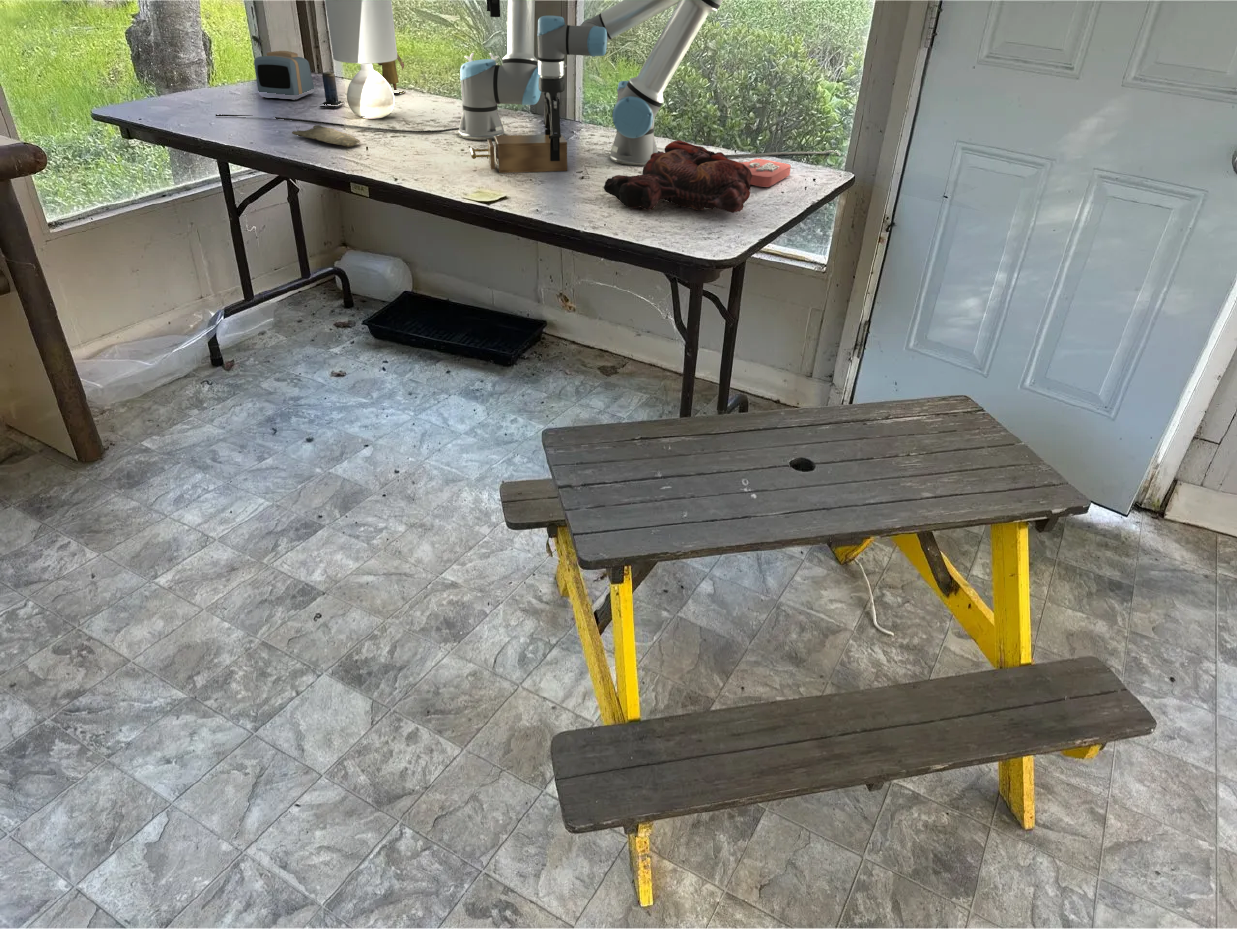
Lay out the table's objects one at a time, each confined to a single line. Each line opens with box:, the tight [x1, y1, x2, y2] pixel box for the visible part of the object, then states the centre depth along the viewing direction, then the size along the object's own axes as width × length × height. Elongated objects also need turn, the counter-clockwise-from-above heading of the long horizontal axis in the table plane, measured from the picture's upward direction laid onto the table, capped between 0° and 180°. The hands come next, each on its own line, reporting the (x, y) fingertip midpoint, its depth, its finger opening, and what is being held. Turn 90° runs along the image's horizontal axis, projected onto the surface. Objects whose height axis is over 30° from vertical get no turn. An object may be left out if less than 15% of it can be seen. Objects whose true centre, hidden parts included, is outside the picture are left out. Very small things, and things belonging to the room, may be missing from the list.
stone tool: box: [291, 124, 361, 147], centre depth 276 cm, size 11×3×25 cm
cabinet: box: [494, 133, 568, 174], centre depth 255 cm, size 20×10×8 cm, turn 102°
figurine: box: [377, 52, 405, 96], centre depth 332 cm, size 11×9×30 cm
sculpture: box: [603, 139, 752, 214], centre depth 228 cm, size 43×30×13 cm
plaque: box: [739, 158, 792, 188], centre depth 254 cm, size 18×4×15 cm
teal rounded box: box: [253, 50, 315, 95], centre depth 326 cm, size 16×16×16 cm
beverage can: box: [319, 71, 345, 110], centre depth 314 cm, size 9×8×12 cm
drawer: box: [469, 139, 499, 170], centre depth 254 cm, size 25×9×6 cm, turn 102°
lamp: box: [324, 0, 398, 120], centre depth 295 cm, size 22×22×40 cm
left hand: (493, 14), depth 237 cm, fingers open, 13 cm apart
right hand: (552, 155), depth 257 cm, fingers closed on cabinet, 10 cm apart
